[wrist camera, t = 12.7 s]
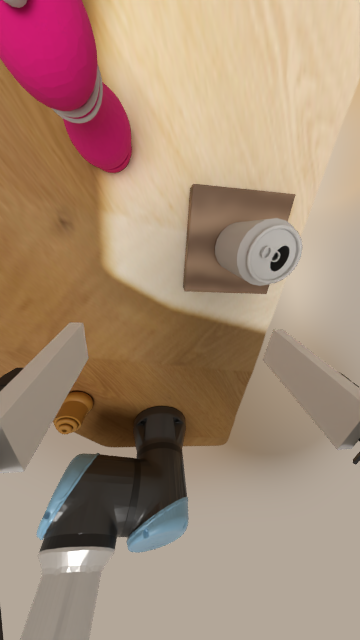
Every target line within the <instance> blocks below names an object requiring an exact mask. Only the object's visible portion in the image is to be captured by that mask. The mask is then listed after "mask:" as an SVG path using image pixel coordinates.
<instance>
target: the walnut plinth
mask: <svg viewBox="0 0 360 640" xmlns="http://www.w3.org/2000/svg"><path fill="white" fill-rule="evenodd" d="M294 198H295V194H286V193H276V192H266V191H257V190H247V189H237V188H228V187H218V186H209V185H199V184H193V185H192V187H191V188H190V200H189V214H188V227H187V241H186V255H185V268H184V282H183V288H184V290H185V291H193V292H224V293H255V294H267V291H268V287H269V285H262V286H258V285H253V284H250V283H249V282H247V281H245V280H244V279H242V278H240V277H239V276H237V275H235V274H233V273H232V272H230V271H228V270H227V269H225V268H223V267H222V266H221V265H220V264H219V262H218V261H217V258H216V255H215V245H216V241H217V238H218V237H219V235H220V233H221V232H222V231H223V230H224V229H225V228H226V227H227V226H229V225H231V224H233V223H236V222H245V221H254V220H264V219H273V218H278V219H282V220H286V221H287V222H288V218H289V215H290V211H291V208H292V204H293V201H294Z"/></svg>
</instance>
